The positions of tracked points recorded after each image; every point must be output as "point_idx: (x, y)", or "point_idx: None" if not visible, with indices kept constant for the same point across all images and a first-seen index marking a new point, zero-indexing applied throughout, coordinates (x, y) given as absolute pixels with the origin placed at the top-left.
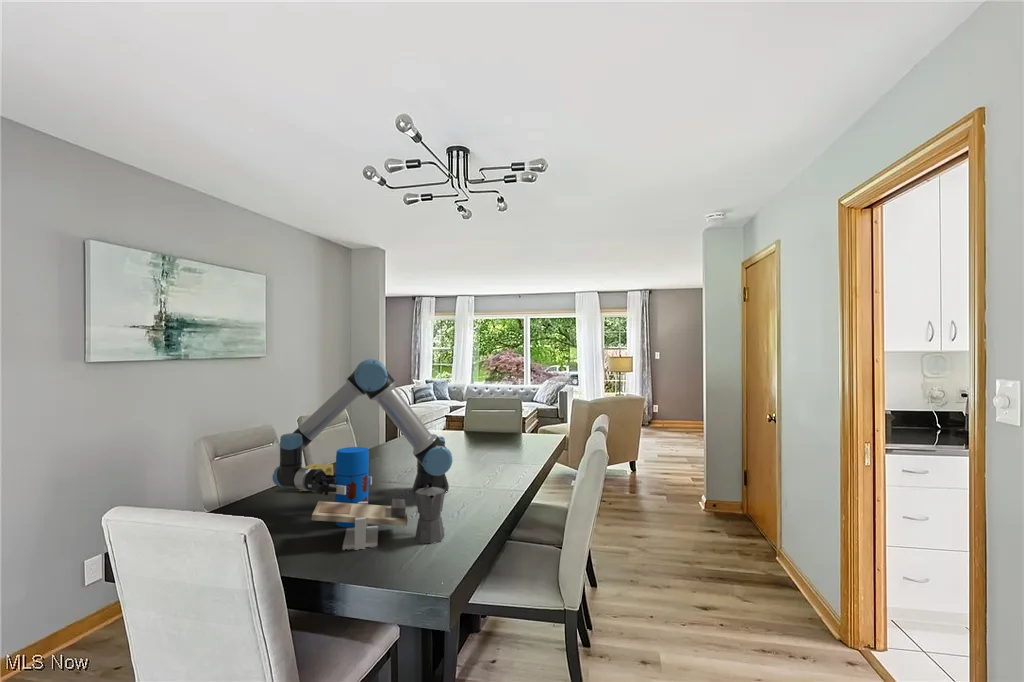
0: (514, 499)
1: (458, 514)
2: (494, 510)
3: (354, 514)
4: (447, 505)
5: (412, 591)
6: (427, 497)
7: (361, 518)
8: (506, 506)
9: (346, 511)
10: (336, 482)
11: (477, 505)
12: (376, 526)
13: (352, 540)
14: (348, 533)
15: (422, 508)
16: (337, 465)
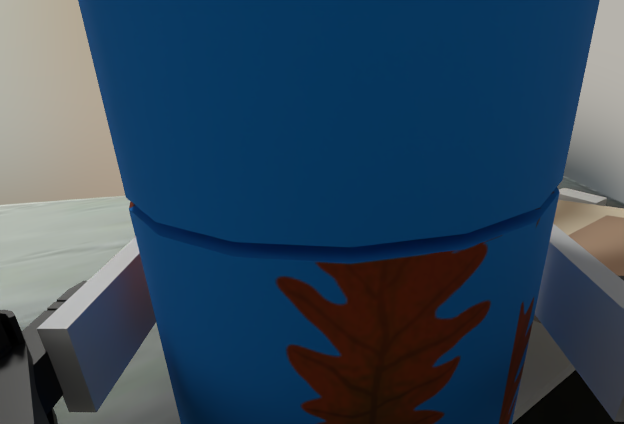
0: (32, 205)
1: None
2: (128, 208)
3: (580, 214)
4: (46, 280)
5: (571, 181)
6: None
7: (575, 193)
8: (96, 203)
9: (612, 227)
10: (530, 308)
11: (70, 234)
12: None
13: None
14: (530, 375)
15: None
16: (592, 20)
